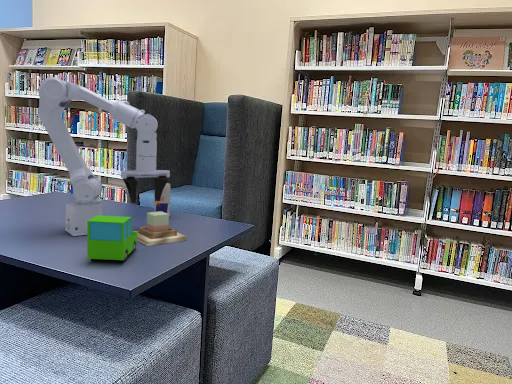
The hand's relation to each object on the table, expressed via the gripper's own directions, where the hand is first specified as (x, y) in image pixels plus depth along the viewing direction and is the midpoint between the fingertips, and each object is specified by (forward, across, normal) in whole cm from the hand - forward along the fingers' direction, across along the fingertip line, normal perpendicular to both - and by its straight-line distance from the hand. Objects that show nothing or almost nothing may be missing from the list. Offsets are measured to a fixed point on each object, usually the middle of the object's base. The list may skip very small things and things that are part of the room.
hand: (145, 201), depth 122 cm
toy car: (+10, -16, -17) cm, 25 cm away
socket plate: (+9, 0, -8) cm, 12 cm away
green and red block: (+8, 0, -8) cm, 11 cm away
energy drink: (+10, +14, +16) cm, 24 cm away
